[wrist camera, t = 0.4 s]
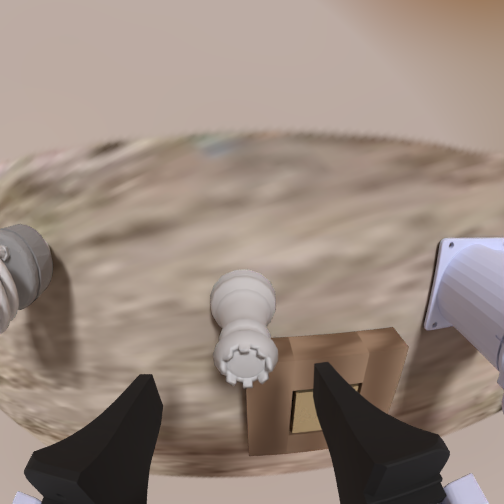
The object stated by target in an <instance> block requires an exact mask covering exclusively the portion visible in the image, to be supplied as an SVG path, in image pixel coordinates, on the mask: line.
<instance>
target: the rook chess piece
mask: <svg viewBox="0 0 504 504" xmlns="http://www.w3.org/2000/svg"><path fill="white" fill-rule="evenodd" d="M210 298H211V301H210V303H211V312H212V315H213V317H214V318H215V320H216V322H217V323H218V325H219V326H220V327H222V331H221V334H220V336H219V342H218V343H217V344H216V347H215V350H214V352H213V359H214V364H215V366H216V367H217V369H218V370H219V371H220V373H221V375H222V374H223V375H225V376H226V382H227V383H229V384H231V385H232V386H234V385H235V384H236V381H238V382H242V383H243V388H253V382H254V381H257V380H258V381H259V382H260V383H261V384H263V383H264V382H266V381H267V380H268V379H269V376H268V374H269V373H270V372H271V371H272V372H273V369H274V368H275V366H276V364H277V362H278V349H277V347H276V345H275V344H274V342H273V341H272V340H271V335H270V333H269V331H268V329H267V327H266V326H267V325H268V324H269V323H270V322H271V320H272V318H273V315H274V313H275V310H276V298H275V290H274V288H273V286H272V284H271V282H270V281H269V280H268V279H267V278H265V277H264V276H263V275H262V274H261V273H258V272H255V271H251V270H248V269H245V270H234V271H231V272H229V273H227V274H225V275H223V276H222V277H221V278H220V279H219V280H218V281H217V282H216V283H215V284H214V286H213V289H212V292H211V295H210Z"/></svg>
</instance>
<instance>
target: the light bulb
mask: <svg viewBox="0 0 504 504" xmlns="http://www.w3.org/2000/svg"><path fill="white" fill-rule="evenodd" d="M52 273H53V262H52V257H51V252H50V248H49V246H48V244H47V242H46V241H45V240H44V239H43V237H42V236H41V235H40V234H39V233H38V232H37V231H36V230H35V229H33V228H31V227H30V226H27V225H23V224H17V225H13V226H9V227H5V228H1V229H0V334H2V333H3V332H5V331H6V329H7V328H8V326H9V323H10V321H12V320H13V319H14V318H15V317H16V314H17V311H18V310H21V309H24V308H26V307H27V306H29V305H30V304H31V303H32V302H34V301H35V300H36V299H37V298H38V297H39V296H40V295H41V294H42V292H43V291H44V290H45V289H46V288H47V286H48V284H49V283H50V281H51V277H52Z"/></svg>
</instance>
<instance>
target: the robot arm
mask: <svg viewBox="0 0 504 504" xmlns="http://www.w3.org/2000/svg"><path fill="white" fill-rule="evenodd" d="M450 243H451V246H450V247H449V244H450ZM503 243H504V238H444V239H442V240H441V242H440V245H439V252H438V258H437V264H436V270H435V276H434V281H433V286H432V291H431V296H430V301H429V305H428V310H427V314H426V318H425V322H424V328H425V329H426V330H435V329H440V328H446V327H451V326H454V327H455V328H456V329H457V330H458V331H459V332H460V333H461V334H462V335H463V336H464V337H465V338H466V339H467V340H468V341H469V342H470V343H471V344H472V345H473V346H474V347H475V348H476V349H477V350H478V351H479V352H480V353H481V354H482V355H483V356H484V357H485V358H486V359H487V360H488V361H489V362H490V363H491V364H492V365H493V366H494V367H495V368H496V369H497V370H498V371H499V372H500V374H499V378H498V380H497V383H498V384H499V385H500V386H501V387H502V388H503V389H504V244H503ZM434 323H435V324H434ZM433 324H434V325H433ZM313 399H314V404H315V409H316V414H317V417H318V420H319V423H320V426H321V429H322V432H323V435H324V437H325V440H326V443H327V446H328V449H329V452H330V455H331V459H332V463H333V467H334V472H335V477H336V482H337V487H338V493H339V498H340V504H489V503H488V501H487V499H486V497H485V496H484V494H483V492H482V490H481V488H480V487H479V485H478V483H477V481H476V480H475V478H474V476H473V474H471V473H469V474H467V475H465V476H463V477H461V478H459V479H457V480H455V481H453V482H451V483H449V484H447V485H446V486H445V487H444V488H443V487H442V485H441V483H440V482H442V477H441V475H440V472H441V470H442V469H443V467H444V465H445V464H446V462H447V460H448V458H449V456H450V451H449V450H448V448H447V446H446V445H445V443H444V441H443V440H442V439H441V437H440V436H439V435H438V434H435V433H431V432H428V431H424V430H421V429H418V428H416V427H413V426H411V425H408V424H406V423H404V422H402V421H400V420H398V419H396V418H394V417H392V416H390V415H388V414H387V413H385V412H383V411H382V410H380V409H379V408H377V407H376V406H374V405H373V404H372V403H370V402H369V401H368V400H367V399H365V398H364V397H363V396H362V395H361V394H359V393H358V392H357V391H356V390H355V389H354V388H353V387H352V386H351V385H350V384H349V383H348V382H347V381H346V380H345V379H344V378H343V377H342V376H341V375H340V374H339V373H338V372H337V371H336V370H335V369H334V367H333V366H332V365H331V364H330V363H329V362H322V363H315V364H314V383H313ZM162 410H163V404H162V402H161V399H160V396H159V393H158V390H157V387H156V384H155V381H154V378H153V375H152V374H140V375H139V376H138V377H137V378H136V379H135V380H134V381H133V382H132V383H131V384H130V386H129V387H128V388H127V389H126V390H125V391H124V392H123V393H122V394H121V395H120V396H119V397H118V398H117V399H116V400H115V402H113V403H112V404H111V405H110V406H109V407H108V408H107V409H106V410H105V411H104V412H103V413H102V414H101V415H99V416H98V417H97V418H96V419H95V420H93V421H92V422H91V423H89V424H88V425H87V426H85V427H84V428H82V429H81V430H79V431H77V432H76V433H74V434H73V435H71V436H69V437H67V438H66V439H64V440H62V441H60V442H57V443H55V444H53V445H51V446H48V447H45V448H42V449H40V450H37V451H34V452H33V454H32V456H31V458H30V460H29V462H28V464H27V466H26V468H25V470H24V474H25V476H26V478H27V479H28V481H29V482H30V483H31V484H32V485H33V486H34V487H35V488H36V489H37V490H38V491H39V492H40V493H41V494H42V495H43V496H44V498H43V500H42V501H40V500H39V499H37V498H35V497H32V496H30V495H27V494H25V493H22V492H20V491H18V492H17V494H16V496H15V498H14V500H13V503H12V504H147V489H148V478H149V470H150V465H151V460H152V456H153V452H154V449H155V445H156V441H157V437H158V433H159V429H160V425H161V419H162ZM502 410H503V413H504V394H503V398H502Z"/></svg>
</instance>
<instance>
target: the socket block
mask: <svg viewBox="0 0 504 504" xmlns="http://www.w3.org/2000/svg"><path fill="white" fill-rule="evenodd" d="M271 340H272V341H273V342H274V344H275V345H276V347H277V349H278V362H277V364H276V366H275V368H274V369H273V372H272V371H271V372H270V373H269V374H268V376H269V379H268V380H267V381H266V382H264V383H263V384H261V383H260V382H259V381H258V380H257V381H254V382H253V388H246V402H247V428H248V448H249V456H261V455H277V454H288V453H298V452H307V451H315V450H323V449H328V446H327V443H326V440H325V437H324V435H323V432H322V430H317V431H308V432H299V433H292V429H291V416H292V411H291V404H292V392H293V391H296V390H307V389H313V383H314V364H315V363H322V362H329V363H330V364H331V365H332V366H333V367H334V369H335V370H336V371H337V372H338V373H339V374H340V375H341V376H342V377H343V378H344V379H345V380H346V381H347V382H348V383H349V384H356V383H357V384H358V390H357V392H358V393H359V394H361V395H362V396H363V397H364V398H365V399H367V400H368V401H369V402H370V403H372V404H373V405H374V406H376V407H377V408H379V409H380V410H382V411H383V412H385V413H387V414H388V411H389V409H390V406H391V403H392V400H393V397H394V394H395V391H396V388H397V385H398V382H399V379H400V376H401V373H402V369H403V366H404V363H405V359H406V356H407V352H408V348H409V347H408V345H407V344H406V343H405V342H404V340H403V339H402V338H401V337H400V335H399V334H398V333H397V332H396V330H395V329H394V328H393V327H391V328H383V329H375V330H366V331H356V332H347V333H336V334H324V335H312V336H298V337H281V338H271Z"/></svg>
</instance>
